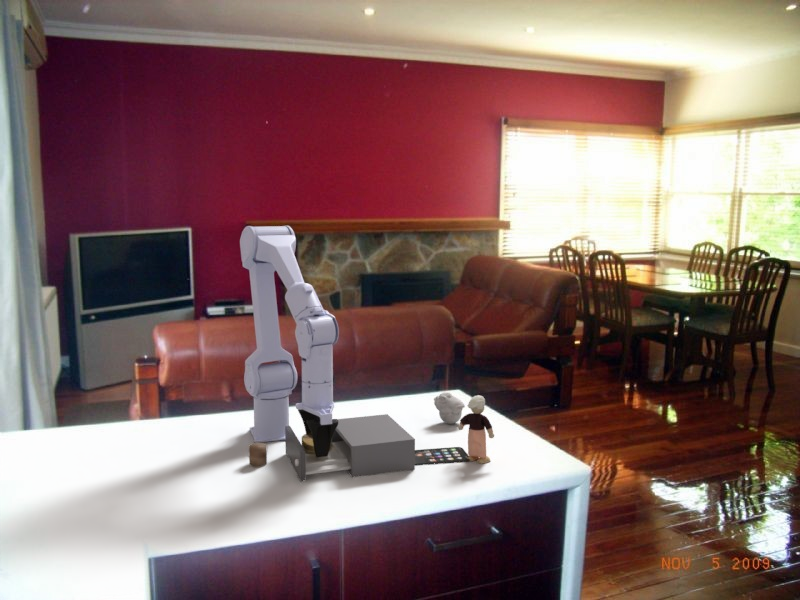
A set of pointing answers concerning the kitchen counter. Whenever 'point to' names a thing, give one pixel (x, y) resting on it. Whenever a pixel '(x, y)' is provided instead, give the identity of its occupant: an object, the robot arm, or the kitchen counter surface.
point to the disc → (310, 444)
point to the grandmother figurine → (477, 430)
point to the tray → (310, 463)
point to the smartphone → (440, 455)
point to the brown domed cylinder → (258, 454)
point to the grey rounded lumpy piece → (449, 407)
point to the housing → (376, 445)
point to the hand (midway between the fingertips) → (318, 450)
